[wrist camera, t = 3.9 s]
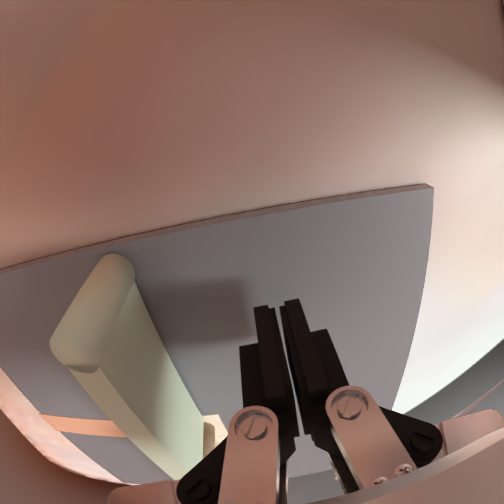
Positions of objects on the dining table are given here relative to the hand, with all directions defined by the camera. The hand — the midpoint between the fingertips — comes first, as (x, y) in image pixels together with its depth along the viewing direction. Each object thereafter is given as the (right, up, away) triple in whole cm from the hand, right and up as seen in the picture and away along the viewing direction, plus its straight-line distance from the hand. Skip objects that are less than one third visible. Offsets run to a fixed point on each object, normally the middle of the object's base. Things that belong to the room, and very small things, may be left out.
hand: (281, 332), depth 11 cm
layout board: (-4, -8, +6) cm, 11 cm away
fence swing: (-5, -2, +2) cm, 6 cm away
